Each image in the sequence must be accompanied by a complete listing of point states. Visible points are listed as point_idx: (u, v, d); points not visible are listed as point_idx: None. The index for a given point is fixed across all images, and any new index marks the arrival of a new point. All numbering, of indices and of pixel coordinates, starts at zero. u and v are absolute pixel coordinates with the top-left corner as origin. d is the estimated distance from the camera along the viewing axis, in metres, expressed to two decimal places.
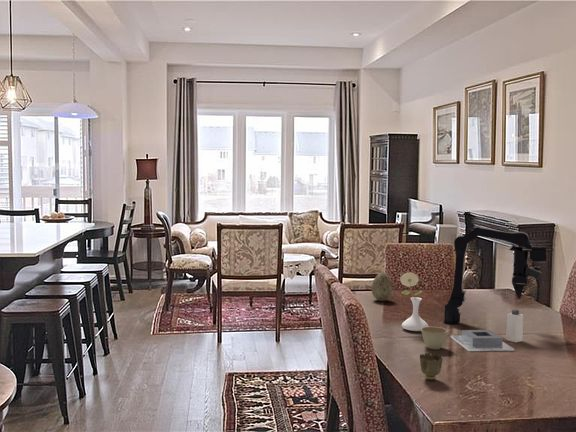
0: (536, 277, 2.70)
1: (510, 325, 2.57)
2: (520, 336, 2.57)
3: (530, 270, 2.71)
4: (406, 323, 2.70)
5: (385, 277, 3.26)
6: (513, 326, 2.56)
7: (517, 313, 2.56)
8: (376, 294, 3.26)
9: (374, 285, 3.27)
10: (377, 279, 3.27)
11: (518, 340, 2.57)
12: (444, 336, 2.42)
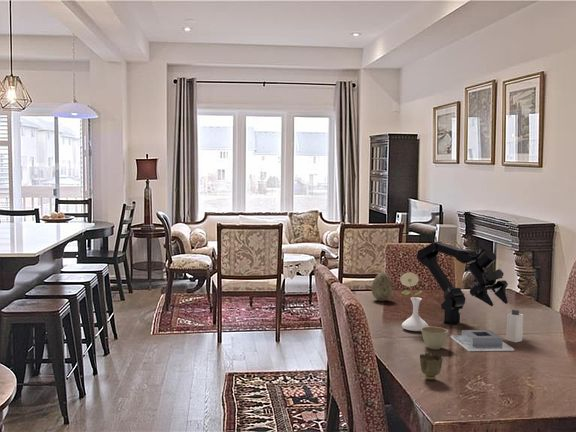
0: (493, 277, 2.63)
1: (510, 325, 2.57)
2: (520, 336, 2.57)
3: (486, 275, 2.67)
4: (406, 323, 2.70)
5: (385, 277, 3.26)
6: (513, 326, 2.56)
7: (517, 313, 2.56)
8: (376, 294, 3.26)
9: (374, 285, 3.27)
10: (377, 279, 3.27)
11: (518, 340, 2.57)
12: (444, 336, 2.42)
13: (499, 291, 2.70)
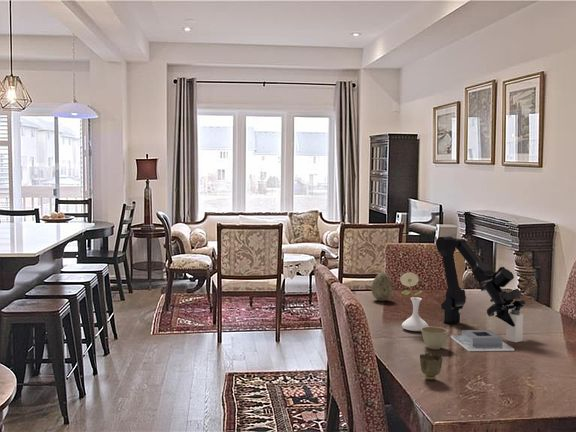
0: (511, 297, 2.56)
1: (510, 325, 2.57)
2: (520, 336, 2.57)
3: (503, 295, 2.59)
4: (406, 323, 2.70)
5: (385, 277, 3.26)
6: None
7: (517, 313, 2.56)
8: (376, 294, 3.26)
9: (374, 285, 3.27)
10: (377, 279, 3.27)
11: (518, 340, 2.57)
12: (444, 336, 2.42)
13: None
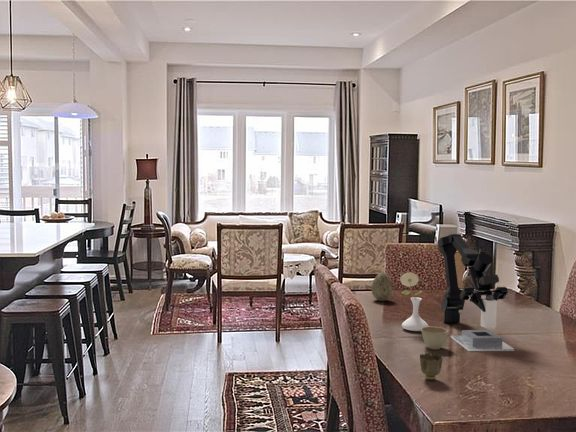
0: (483, 282, 2.51)
1: None
2: (492, 322, 2.50)
3: (479, 280, 2.55)
4: (406, 323, 2.70)
5: (385, 277, 3.26)
6: (485, 311, 2.51)
7: (490, 299, 2.50)
8: (376, 294, 3.26)
9: (374, 285, 3.27)
10: (377, 279, 3.27)
11: (490, 326, 2.50)
12: (444, 336, 2.42)
13: None
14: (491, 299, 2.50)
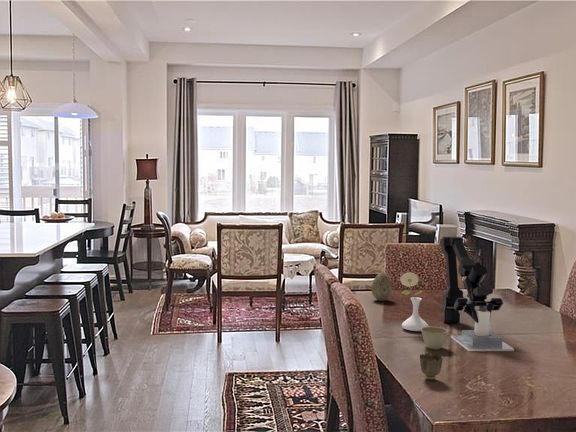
0: (477, 293, 2.51)
1: None
2: (485, 333, 2.50)
3: (473, 291, 2.55)
4: (406, 323, 2.70)
5: (385, 277, 3.26)
6: (478, 322, 2.51)
7: (483, 310, 2.50)
8: (376, 294, 3.26)
9: (374, 285, 3.27)
10: (377, 279, 3.27)
11: None
12: (444, 336, 2.42)
13: (486, 309, 2.55)
14: (484, 310, 2.50)
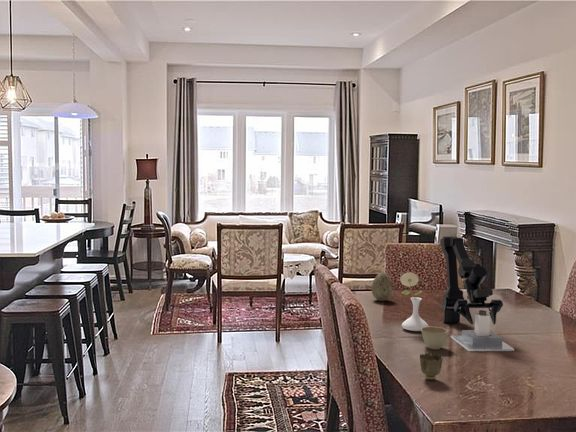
0: (477, 295, 2.51)
1: (476, 326, 2.52)
2: None
3: (473, 292, 2.55)
4: (406, 323, 2.70)
5: (385, 277, 3.26)
6: (478, 326, 2.51)
7: (483, 314, 2.50)
8: (376, 294, 3.26)
9: (374, 285, 3.27)
10: (377, 279, 3.27)
11: None
12: (444, 336, 2.42)
13: (491, 310, 2.55)
14: (484, 314, 2.50)
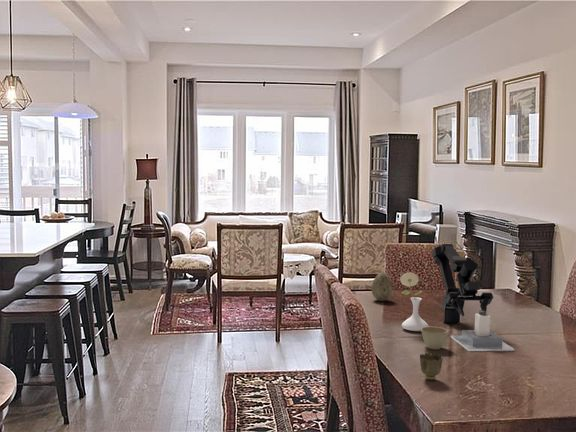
0: (468, 288, 2.61)
1: (476, 326, 2.52)
2: None
3: (464, 285, 2.64)
4: (406, 323, 2.70)
5: (385, 277, 3.26)
6: (478, 326, 2.51)
7: (483, 314, 2.50)
8: (376, 294, 3.26)
9: (374, 285, 3.27)
10: (377, 279, 3.27)
11: None
12: (444, 336, 2.42)
13: (482, 303, 2.64)
14: (484, 314, 2.50)
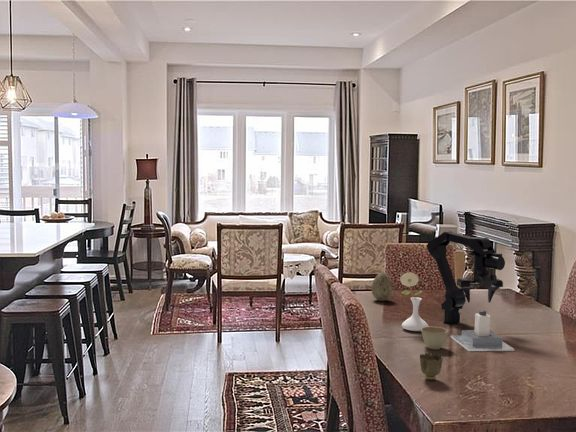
0: (480, 284, 2.66)
1: (476, 326, 2.52)
2: None
3: (478, 276, 2.69)
4: (406, 323, 2.70)
5: (385, 277, 3.26)
6: (478, 326, 2.51)
7: (483, 314, 2.50)
8: (376, 294, 3.26)
9: (374, 285, 3.27)
10: (377, 279, 3.27)
11: None
12: (444, 336, 2.42)
13: (490, 288, 2.74)
14: (484, 314, 2.50)
